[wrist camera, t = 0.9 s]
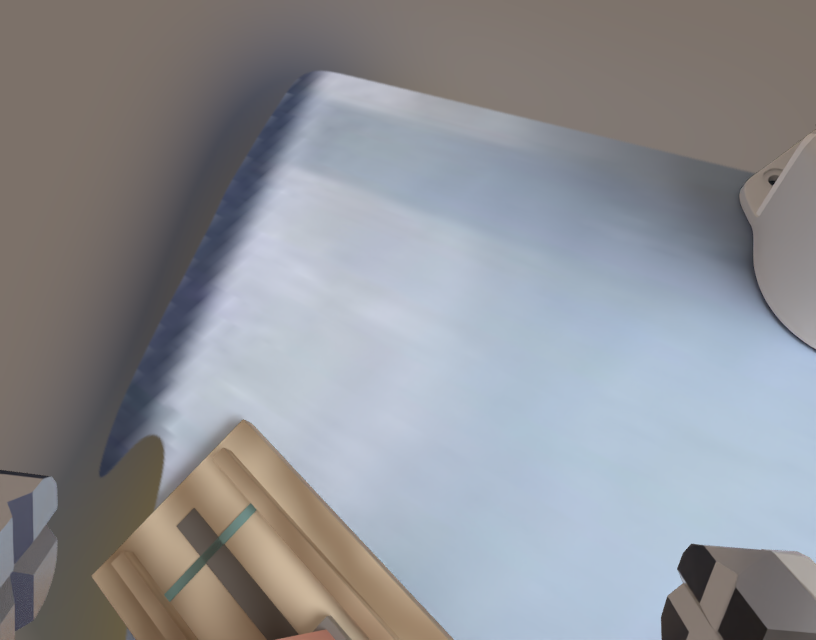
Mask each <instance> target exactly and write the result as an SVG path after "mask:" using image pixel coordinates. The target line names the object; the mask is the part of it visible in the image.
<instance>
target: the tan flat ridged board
mask: <svg viewBox="0 0 816 640" xmlns="http://www.w3.org/2000/svg"><path fill="white" fill-rule="evenodd" d="M92 578H93V579H94V580H95V582H96V583H97V585H98V586H99V588H100V589H101V590H102V592H103V593H104V595H105V596H106V598H107V599H108V600H109V602H110V603H111V605H112V606H113V608H114V609H115V610H116V612H117V613H118V615H119V616H120V617H121V619H122V620H123V622H124V623H125V625H126V626H127V627H128V629H129V630H130V632H131V633H132V635H133V636H134V637H135V639H136V640H276V639H281V638H286V637H291V636H296V635H301V634H306V633H311V632H313V631H314V630H315V628H316V627H317V626H318V625H319V624H320V623H321V622H322V621H323V620H324V618H325V617H326V616H330V615H331V616H332V617H333V619H334V620H335V621H336V622H337V623H338V624H339V626H340V627H341V628H342V629H343V630H344V631H345V632H346V634H347V635H348V636H349V637H350V638H351V639H352V640H454V639H453V638H452V637H451V636H450V635H449V634H448V633H447V632H446V631H445V630H444V629H443V628H442V626H441V625H440V624H439V623H438V622H437V621H436V620H435V619H434V618H433V617H432V616H431V615H430V614H429V613H428V611H427V610H426V609H425V608H424V607H423V606H422V605H421V604H420V603H419V602H418V601H417V600H416V599H415V598H414V597H413V595H412V594H411V593H410V592H409V591H408V590H407V589H406V588H405V587H404V586H403V585H402V584H401V583H400V582H399V580H398V579H397V578H396V577H395V576H394V575H393V574H392V573H391V572H390V571H389V570H388V569H387V568H386V567H385V565H384V564H383V563H382V562H381V561H380V560H379V559H378V558H377V557H376V556H375V555H374V554H373V553H372V552H371V551H370V549H369V548H368V547H367V546H366V545H365V544H364V543H363V542H362V541H361V540H360V539H359V538H358V537H357V536H356V534H355V533H354V532H353V531H352V530H351V529H350V528H349V527H348V526H347V525H346V524H345V523H344V522H343V521H342V519H341V518H340V517H339V516H338V515H337V514H336V513H335V512H334V511H333V510H332V509H331V508H330V507H329V506H328V504H327V503H326V502H325V501H324V500H323V499H322V498H321V497H320V496H319V495H318V494H317V493H316V492H315V491H314V490H313V488H312V487H311V486H310V485H309V484H308V483H307V482H306V481H305V480H304V479H303V478H302V477H301V476H300V475H299V473H298V472H297V471H296V470H295V469H294V468H293V467H292V466H291V465H290V464H289V463H288V462H287V461H286V460H285V458H284V457H283V456H282V455H281V454H280V453H279V452H278V451H277V450H276V449H275V448H274V447H273V446H272V445H271V443H270V442H269V441H268V440H267V439H266V438H265V437H264V436H263V435H262V434H261V433H260V432H259V431H258V430H257V429H256V427H255V426H254V425H253V424H251V423H250V422H248V421H246V420H244V419H243V420H242V421H241V422H240V423H239V424H238V425H237V426H236V427H235V428H234V429H233V430H232V431H231V432H230V433H229V434H228V435H227V436H226V438H225V439H224V440H223V441H222V442H221V443H220V444H219V445H218V446H217V447H216V448H215V449H214V450H213V451H212V452H211V453H210V454H209V455H208V456H207V457H206V458H205V459H204V460H203V461H202V462H201V463H200V464H199V465H198V466H197V467H196V468H195V470H194V471H193V472H192V473H191V474H190V475H189V476H188V477H187V478H186V479H185V480H184V481H183V482H182V483H181V484H180V485H179V486H178V487H177V488H176V489H175V490H174V491H173V492H172V493H171V494H170V495H169V496H168V497H167V498H166V499H165V501H164V502H163V503H162V504H161V505H160V506H159V507H158V508H157V509H156V510H155V511H154V512H153V513H152V514H151V515H150V516H149V517H148V518H147V519H146V520H145V521H144V522H143V523H142V524H141V525H140V526H139V527H138V529H136V530H135V532H134V533H133V534H132V535H131V536H130V537H129V538H128V539H127V540H126V541H125V542H124V543H123V544H122V545H121V546H120V547H119V548H118V549H117V550H116V551H115V552H114V553H113V554H112V555H111V556H110V557H109V558H108V559H107V560H106V562H104V563H103V565H102V566H101V567H100V568H99V569H98V570H97V571H96V572H95V573H94V574H93V575H92Z"/></svg>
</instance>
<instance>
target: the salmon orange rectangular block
mask: <svg viewBox="0 0 816 640" xmlns="http://www.w3.org/2000/svg"><path fill="white" fill-rule="evenodd" d="M276 640H352V639H351V638H350V637H349V636H348V635H347V634H346V632H345V631H344V630H343V629H342V628H341V627H340V626H339V624H338V623H337V622H336V621H335V620H334V619H333V617H332V616H331V615H330V616H326V617H325V618H324V620H323V621H322V622H321V623H320V624H319V625H318V626H317V627H316V628H315V630H314V631H313V632H311V633H306V634H301V635H296V636H291V637H286V638H281V639H276Z"/></svg>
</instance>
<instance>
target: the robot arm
mask: <svg viewBox="0 0 816 640" xmlns="http://www.w3.org/2000/svg"><path fill="white" fill-rule="evenodd" d="M768 181H775V184H774V185H771V184H770V183H769V182H768ZM739 198H740V203H741V206H742V208H743V211H744V213H745V215H746V217H747V219H748V221H749V223H750V225H751V227H752V230H753V262H754V270H755V274H756V278H757V281H758V285H759V287H760V290H761V292H762V294H763V296H764V298H765V300H766V302H767V303H768V305H769V306H770V308H771V309H772V311H773V312H774V313H775V315H776V316H777V317H778V318H779V320H780V321H781V322H782V323H783V324H784V325H785V326H786V327H787V328H788V329H789V330H790V331H791V332H792V333H793V334H795V335H796V336H797V337H798V338H800V339H801V340H802V341H804V342H805V343H807V344H808V345H810V346H811V347H813V348H814V349H816V129H815V130H814V131H812V132H811V133H810V134H808V135H807V136H806V137H804V138H803V139H802V140H800V141H799V142H798V143H797V144H795V145H794V146H792V147H791V148H790V149H788V150H787V151H786V152H784V153H783V154H781V155H780V156H779V157H778V158H776V159H775V160H773V161H772V162H771V163H769V164H768V165H767V166H765V167H764V168H763V169H761V170H760V171H759V172H757V173H756V174H755V175H753V176H752V177H751V178H749V179H748V180H747V181H746V183H745V184H744V186H743V187H742V188H741V190H740V193H739ZM57 507H58V506H57V484H56V482H55V481H54V479H53V478H52V477H51V476H46V475H38V474H29V473H22V472H14V471H6V470H0V640H15V631H16V630H18V629H20V628H22V627H23V626H25V625H27V624H28V623H30V622H32V621H33V620H34V619H35V617H36V615H37V614H38V612H39V610H40V608H41V607H42V605H43V603H44V602H45V599H46V596H47V593H48V591H49V587H50V585H51V582H52V580H53V576H54V571H55V565H56V559H57V538H56V537H55V535H54V534H53V533H52V531H51V530H50V529H49V528H48V526H47V525H46V523H47V522H48V520H49V519H50V518H51V516H52V515H53V513H54V512H55V510H56V509H57ZM677 570H678V572H679V574H680V577H681V579H682V582H683V584H682V585H680V586H679V587H678V588H677V589H675V590H674V591H673V592H672V593H671V594H669V595H668V596H667V599H666V603H665V606H664V609H663V612H662V616H661V633H662V640H816V564H815V563H814V562H813V561H812V560H811V559H810V558H809V557H807V556H805V555H803V554H801V553H799V552H796V551H782V550H767V549H762V550H757V549H746V548H734V547H723V546H711V545H699V544H691V545H690V546H689V547H688V548H687V549H686V550H685V552H684V553H683V555H682V557H681V560H680V563H679V565H678V568H677Z"/></svg>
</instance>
